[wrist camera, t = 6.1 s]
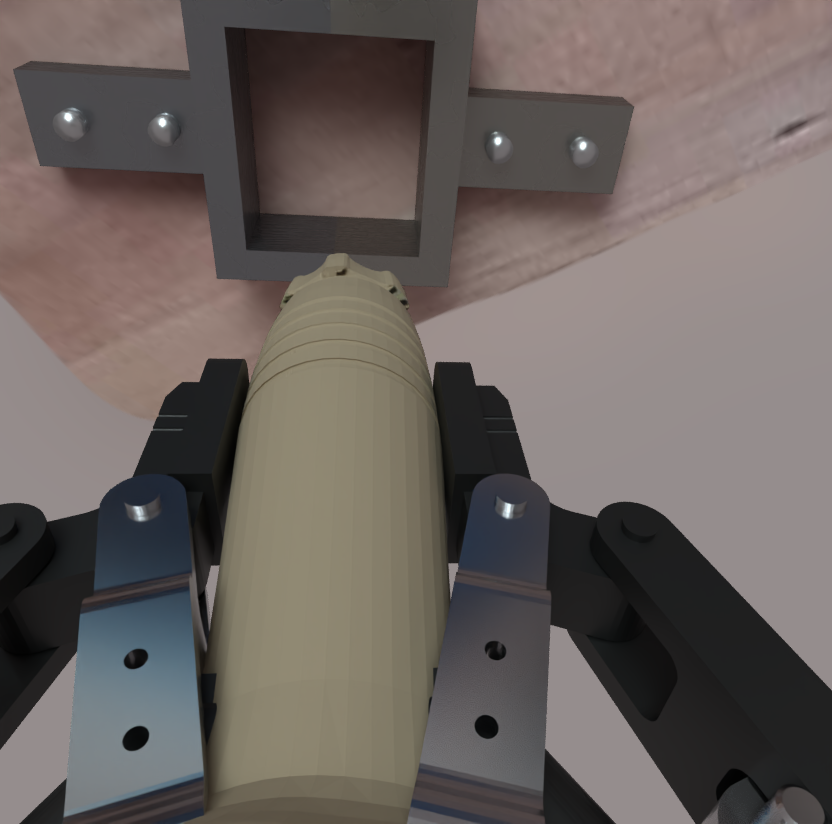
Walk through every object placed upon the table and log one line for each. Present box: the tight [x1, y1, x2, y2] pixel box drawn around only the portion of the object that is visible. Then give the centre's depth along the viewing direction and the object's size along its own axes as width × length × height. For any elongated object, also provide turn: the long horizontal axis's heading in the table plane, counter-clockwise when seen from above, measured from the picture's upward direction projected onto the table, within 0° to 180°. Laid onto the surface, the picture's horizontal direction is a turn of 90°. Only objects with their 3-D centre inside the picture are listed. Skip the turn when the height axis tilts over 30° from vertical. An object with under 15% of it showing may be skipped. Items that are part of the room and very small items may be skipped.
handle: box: [181, 253, 451, 824], centre depth 11 cm, size 5×6×15 cm
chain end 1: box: [13, 0, 338, 281], centre depth 29 cm, size 14×12×4 cm
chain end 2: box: [330, 0, 634, 287], centre depth 30 cm, size 14×12×4 cm
